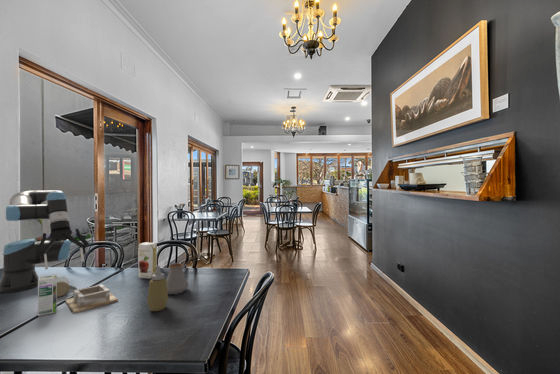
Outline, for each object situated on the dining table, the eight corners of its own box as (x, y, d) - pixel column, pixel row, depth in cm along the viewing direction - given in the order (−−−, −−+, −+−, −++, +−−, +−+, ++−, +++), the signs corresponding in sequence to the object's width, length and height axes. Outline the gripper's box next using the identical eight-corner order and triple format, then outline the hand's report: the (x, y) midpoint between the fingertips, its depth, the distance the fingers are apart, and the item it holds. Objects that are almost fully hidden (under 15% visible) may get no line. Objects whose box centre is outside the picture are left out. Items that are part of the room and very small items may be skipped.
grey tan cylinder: (49, 299, 125) (50, 282, 125) (48, 294, 131) (49, 278, 131) (78, 294, 132) (78, 277, 132) (76, 289, 138) (76, 273, 138)
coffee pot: (175, 297, 128) (176, 265, 128) (157, 293, 133) (157, 262, 133) (206, 283, 147) (206, 255, 147) (189, 280, 152) (189, 252, 152)
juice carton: (144, 274, 162) (145, 241, 161) (158, 274, 160) (158, 242, 160) (136, 278, 154) (136, 244, 154) (150, 279, 153) (150, 244, 153)
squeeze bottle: (147, 314, 111) (147, 269, 111) (146, 306, 118) (147, 264, 118) (168, 310, 115) (169, 267, 115) (167, 303, 122) (167, 262, 122)
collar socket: (65, 301, 122) (65, 290, 122) (106, 291, 134) (106, 281, 134) (73, 313, 112) (73, 300, 112) (117, 301, 123) (117, 290, 123)
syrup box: (37, 316, 108) (37, 279, 108) (39, 311, 113) (39, 275, 113) (56, 312, 112) (56, 277, 112) (57, 307, 117) (57, 273, 116)
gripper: (25, 223, 124) (30, 270, 119) (91, 216, 142) (98, 256, 136) (24, 228, 129) (29, 273, 124) (88, 221, 147) (95, 260, 141)
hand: (65, 264), depth 130 cm, fingers open, 13 cm apart
